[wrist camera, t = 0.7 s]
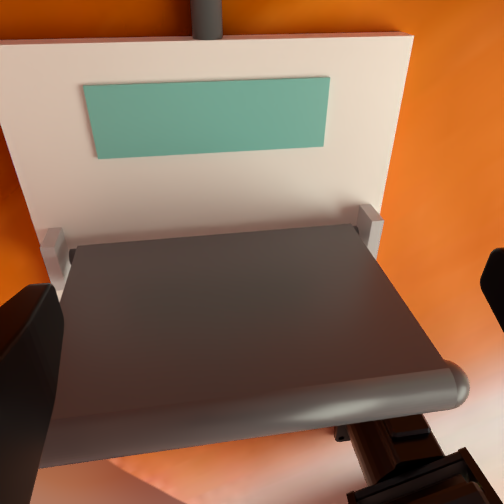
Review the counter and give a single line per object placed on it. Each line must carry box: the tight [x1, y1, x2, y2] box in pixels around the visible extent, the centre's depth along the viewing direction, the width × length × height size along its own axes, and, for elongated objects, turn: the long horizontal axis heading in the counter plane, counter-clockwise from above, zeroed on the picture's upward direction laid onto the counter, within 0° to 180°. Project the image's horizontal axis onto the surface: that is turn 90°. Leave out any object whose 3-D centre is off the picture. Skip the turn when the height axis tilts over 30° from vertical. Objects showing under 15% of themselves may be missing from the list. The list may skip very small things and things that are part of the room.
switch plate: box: [0, 0, 414, 302], centre depth 19 cm, size 27×17×3 cm, turn 0°
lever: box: [38, 224, 470, 469], centre depth 17 cm, size 2×15×11 cm, turn 90°
